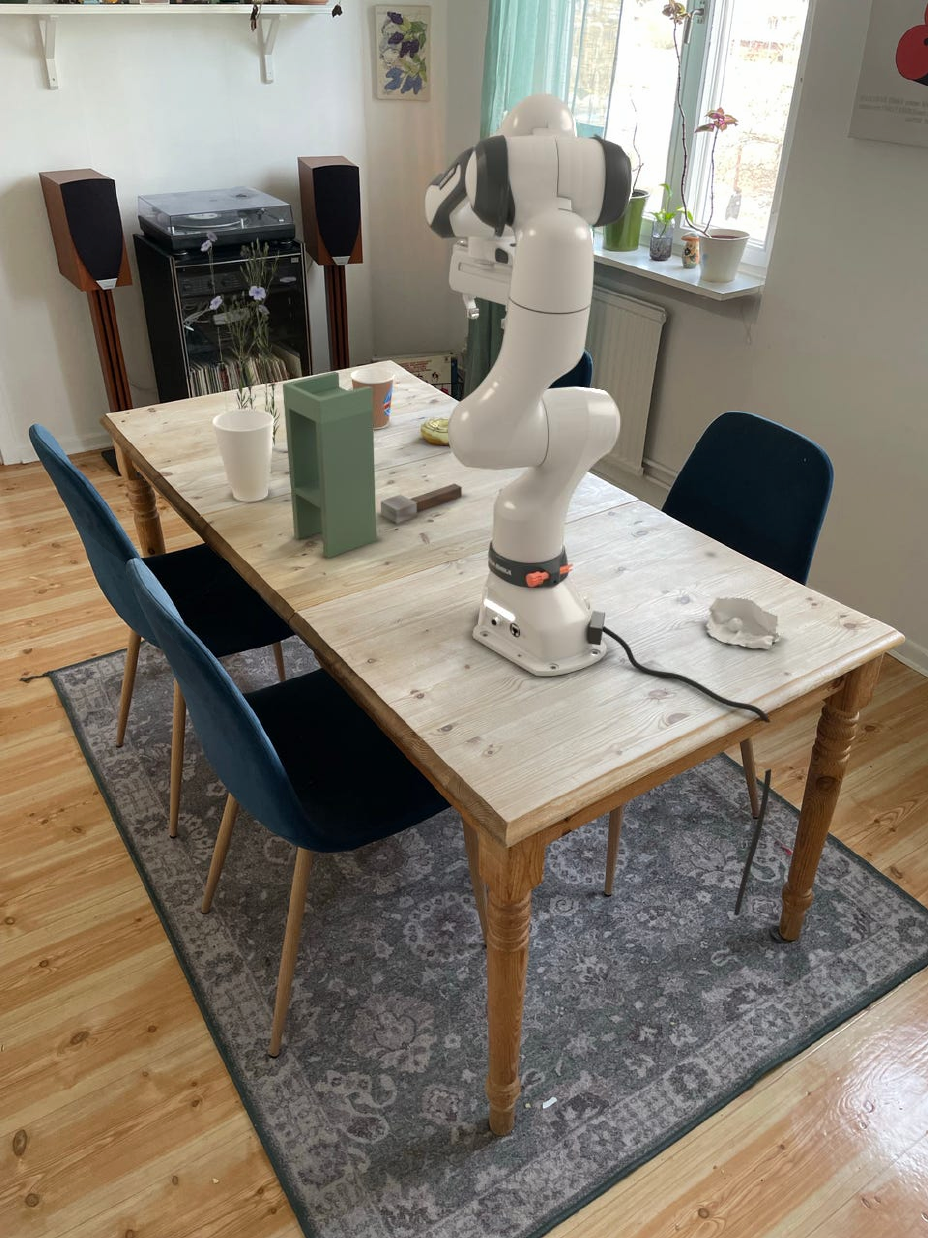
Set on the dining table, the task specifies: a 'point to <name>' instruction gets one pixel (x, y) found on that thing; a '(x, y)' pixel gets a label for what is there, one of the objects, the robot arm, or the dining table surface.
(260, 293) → the wildflower
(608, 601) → the dining table surface
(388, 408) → the coffee cup
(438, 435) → the decorated donut
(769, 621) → the jagged white shell
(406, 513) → the mallet
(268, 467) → the cup
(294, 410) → the stand
